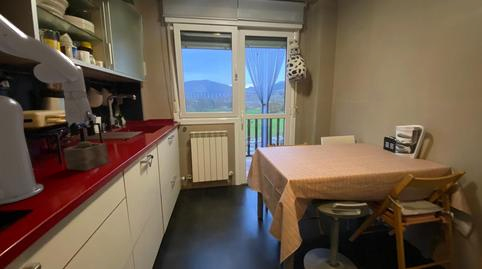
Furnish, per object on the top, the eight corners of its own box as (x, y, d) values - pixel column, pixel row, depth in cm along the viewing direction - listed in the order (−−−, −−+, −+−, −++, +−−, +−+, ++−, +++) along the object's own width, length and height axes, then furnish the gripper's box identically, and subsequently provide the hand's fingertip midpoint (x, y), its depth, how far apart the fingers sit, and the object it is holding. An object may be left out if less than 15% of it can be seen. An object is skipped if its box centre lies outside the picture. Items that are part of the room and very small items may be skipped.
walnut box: (86, 170, 90) (82, 149, 88) (67, 168, 93) (63, 148, 91) (109, 162, 100) (105, 143, 98) (91, 161, 103) (87, 142, 101)
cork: (98, 163, 100) (94, 139, 98) (93, 166, 94) (89, 142, 92) (83, 164, 98) (79, 141, 96) (77, 168, 92) (73, 143, 90)
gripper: (51, 96, 89) (60, 136, 93) (82, 95, 84) (90, 137, 88) (70, 96, 96) (77, 133, 100) (99, 94, 91) (106, 134, 95)
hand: (83, 135), depth 94 cm, fingers open, 9 cm apart
